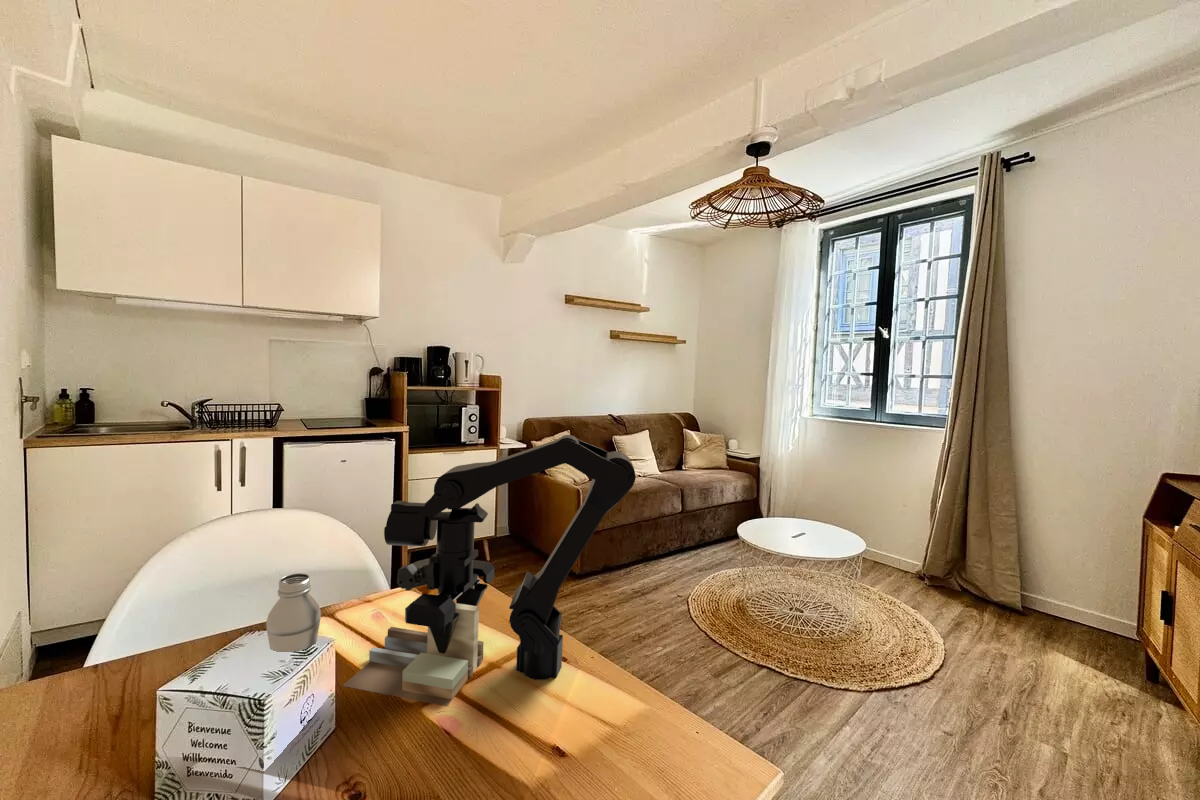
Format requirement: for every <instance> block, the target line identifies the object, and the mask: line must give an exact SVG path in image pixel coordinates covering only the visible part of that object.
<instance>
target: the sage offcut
mask: <svg viewBox="0 0 1200 800" xmlns="http://www.w3.org/2000/svg"><path fill="white" fill-rule="evenodd" d="M467 670H468V660H462V659H456V658H450V657H444V656H439V655H433V654H427V653H420V654H419V655H418V656H417V657H416V658H415V659H414V660H413V661H412V662H411V663H410V664H409V665H408V666H407V667H406V668H405V669H404V670H403V676H402V681H407V682H413V683H418V684H424V685H429V686H434V687H440V688H445V689H451V690H452V689H453V688H454V687H455V686H456V684H457V683H458V682H459V680H460V679H461V678H462V677H463V675H464V674H465V673H466V672H467Z"/></svg>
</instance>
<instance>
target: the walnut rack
mask: <svg viewBox="0 0 1200 800" xmlns="http://www.w3.org/2000/svg"><path fill="white" fill-rule="evenodd" d="M427 633H428V631H427V632H426V631H419V630H414V629H406V628H400V627H394V626H390V627H389V628H388V629H387V635H386V636H385V637H384V648H382V647H381V648H379V647H372V648H371V649H370V650H369V651H368V652H369V654H368V656H369V658H368V660H369V661H368V663H367V664H366V665H365V666H364V667H362V668H360V670H359V671H358V672H356V673H355V674H354V675H353V676H352V677H351V678H350V679H348V680H347V681H346V682H345V683H343V684H342V687H345V688H350V689H355V690H360V691H365V692H371V693H376V694H381V695H387V696H392V697H396V698H401V699H406V700H413V701H418V702H422V703H428V704H433V705H439V706H442V707H443V706H445V707H448V706H449V704H450V703H451V702H452V700H451V699H446V698H440V697H435V696H430V695H424V694H419V693H414V692H408V691H403V690H402V676H403V670H404V669H405V668H406V667H407V666H408V665H409V664H410V663H411V662H412V661H413V660H414V659H415V658H416V657H417V656H418V655H419V654H420V653H427ZM484 644H485V643H484V641H482V640H478V656H477V668H478V667H479V666H481V664H482V662H483V660H484ZM474 672H475V670H474V671H473V666H468V679H467V681H468V680H469V679H470V678H471V677H472V676H473V675H474ZM465 683H466V682H465ZM465 683H464V685H465ZM461 689H462V687H461V688H460V690H461ZM458 693H459V691H458V692H457V694H458ZM455 697H456V695H455V696H454V698H455Z"/></svg>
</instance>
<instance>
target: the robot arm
mask: <svg viewBox="0 0 1200 800" xmlns="http://www.w3.org/2000/svg"><path fill="white" fill-rule="evenodd" d="M564 464H566V465H568V466H570V467H572V468H574V469H575V470H576V471H579V472H580V473H582V474H583V475H585V476H586V477H588V478H590V479H591V481H590V485H589V488H588V490H587V494H586V496H585V498H584V500H583V501H582V503H581V505H580V506H579V508H578V510H577V512H576V513H575V515H574V516H573V518H572V519H571V521H570V523H569V524H568V526H567V528H566V529H565V531H564V533H563V534H562V536H561V537H560V538H559V541H558V542H557V544H556V546H555V547H554V549H553V550H552V552H551V553H550V555H549V557H548V558H547V560H546V562H545V564H544V565H543V566H542V568H541V569H540V570H539V571H538V572H536V573H535V574H534V575H533V574H532V573H531V572H530V571H526V574H525V577H524V579H523V580H522V583H521V584H520V586H518V587H517V588H516V589H515V591H514V593H513V597H512V600H511V602H510V605H509V606H508V607H509V610H511V612H510V614H509V621H508V622H509V625H510V628H511V629H512V631H513V632H514V633H515V634H516V635H517V636H518V637H519V644H518V646H517V647H516V660H515V661H516V664H515V666H516V667H515V670H516V671H517V672H519V673H522V674H524V675H525V677H527V678H528V679H531V680H537V681H544V680H548V679H551V678H552V679H557V677H558V676H559V674H560V672H561V669H562V663H563V645H564V644H563V641H564V635H563V634H560V633H561V632H560V631H561V625H562V617H563V614H562V612H561V611H560V610H559V609H558V608H557V607H556V606H555V602H556V600H557V596H558V593H559V591H560V588H561V586H562V585H563V584H564V581H565V580H566V578H567V577H568V575H569V574H570V572H571V570H572V568H573V567H574V566H575V564H576V562H577V561H578V559H579V557H580V555H581V553H582V552H583V551H584V549H585V547H586V546H587V544H588V542H589V541H590V539H591V538H592V537H593V535H594V533H595V531H596V530H597V528H598V527H599V525H600V523H601V522H602V520H603V518H604V517H605V515H606V514H607V513H609V512H610V511H611V510H612V509H613V508H614V507H615V506H616V505H618V504H619V503H620V502H621V501H622V500H623V498H624V497H625V496H626V495H627V494H628V493H629V491H631V489H632V488H633V486H634V484H635V482H636V477H637V476H636V471H635V467H634V466H633V462H632V461H631V459H630V457H629V455H626V453H624V452H622V451H617V450H614V451H610V452H609V451H607V450H605V449H603V448H601V447H598V446H595V445H593V444H591V443H588V442H585V441H583V440H581V439H578V438H577V437H576V436H574V435H571V434H566V435H562V436H561V437H559V438H558V439H555V440H554V439H553V440H551V441H549V442H546V443H544V444H540V445H537V446H534V447H532V448H529V449H525V450H522V451H520V452H516V453H513V454H511V455H509V456H508V455H507V456H506V457H502V458H500V459H496V460H492V461H487V462H485V461H484V462H473V463H467V464H460V465H457V466H456V465H455V466H454V467H452V468H450V469H448V470H447V471H446V472H444V473H443V474H442V475H440V476H439V477H438V478H437V479H436V481H435V483H434V485H433V494H432V496H431V497H430V498H429V499H428V500H427V501H426V502H409V501H405V500H396V501H395V502H393V503H391V505H390V512H389V514H388V517H387V519H386V524H385V526H384V528H383V535H384V536H383V538H384V542H385V543H386V545H387V546H388V545H389V546H403V547H405V546H409V547H426V546H427V545H428V543H429V541H433V540H434V539H435V537H436V552H435V553H433V554H432V555H431V556H430V557H429V558H424V559H421V560H418V561H415V562H413V563H410V564H409V565H406V564H405V565H403V566H401V567H399V569H398V570H397V571H398V572H397V576H396V577H397V578H396V579H397V580H396V585H398V587H399V588H400V589H402V590H404V589H405V591H411V590H413V589H415V588H418V587H423V586H426V589H427V590H430V591H434V590H437V594H430V593H422V594H421V595H420V596H417V598H416V599H414V600H413V601H412V602H410V603H409V605H407V607H405V608H404V611H405V612H404V621H405V623H406V624H410V625H415V626H416V625H417V626H421V627H426V628H428V627H429V628H430V630H431V633H432V635H433V638H434V641H435V644H436V647H437V649H438V652H439V653H443V654H445V653H446V651H447V649H448V646H449V643H450V641H451V638H452V635H453V632H454V629H455V626H456V624H457V621H458V618H459V615H460V614H459V613H455V611H456V604H455V603H458V604H465V605H472V606H479V604H480V602H481V600H482V598H483V596H484V594H485V591H486V590H487V589H488V586H489V585H488V584H489V583H491V581H493V580H494V578H495V566H494V565H493V564H492V563H491V562H490V561H486V560H485V561H484V560H478V559H477V560H476V558H477V557H479V549H477V548H476V549H475V548H474V547H475V523H483V522H484V521H485V520H486V518H487V516H488V514H489V513H488V512H487V511H486V510H485V509H484V508H482V507H481V505H480V503H478V502H477V503H475V504H474V505H473V506H472V507H464V506H466V505H468V504H470V503H472V502H474V501H476V500H477V499H479V498H481V497H482V496H483V495H486V494H487V493H488V492H490V491H492V490H493V489H496V488H497V487H499V486H502V485H506V484H507V483H509V484H510V483H512V482H514V481H517V480H520V479H523V478H526V477H529V476H532V475H535V474H537V473H541V472H544V471H546V470H549V469H552V468H555V467H558V466H561V465H564ZM446 509H447V510H451V511H445V510H446ZM479 577H482V579H483V580H482V581H483V582H484V583H481V579H479ZM455 601H456V602H455Z"/></svg>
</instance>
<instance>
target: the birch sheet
mask: <svg viewBox="0 0 1200 800" xmlns="http://www.w3.org/2000/svg"><path fill="white" fill-rule="evenodd" d="M455 604H456V611H455V613H459V614H460V615H459V618H458V621H457V624H456V626H455V629H454V632H453V635H452V638H451V641H450V643H449V646H448V649H447V651H446V653H445V654H443V653H439V652H438V649H437V647H436V644H435V641H434V638H433V635H432V633H431V630H430V628H429V627H427V654H433V655H439V656H444V657H450V658H456V659H462V660H468V666H473V671H474V672H475V671H476V669H477V668H478V667H477V656H478V641H479V618H480V617H479V615H480V606H479V605H478V606H472V605H465V604H458V603H456V602H455Z"/></svg>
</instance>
